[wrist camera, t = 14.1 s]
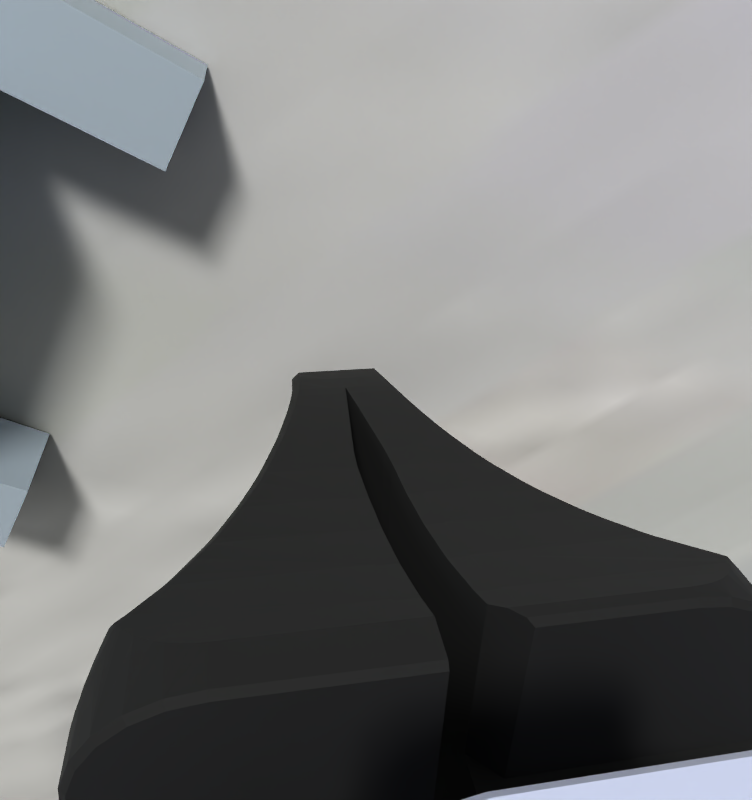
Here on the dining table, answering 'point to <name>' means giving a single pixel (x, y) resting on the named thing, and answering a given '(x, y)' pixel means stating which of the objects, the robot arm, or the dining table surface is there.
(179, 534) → the dining table surface
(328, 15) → the dining table surface
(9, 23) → the jig
